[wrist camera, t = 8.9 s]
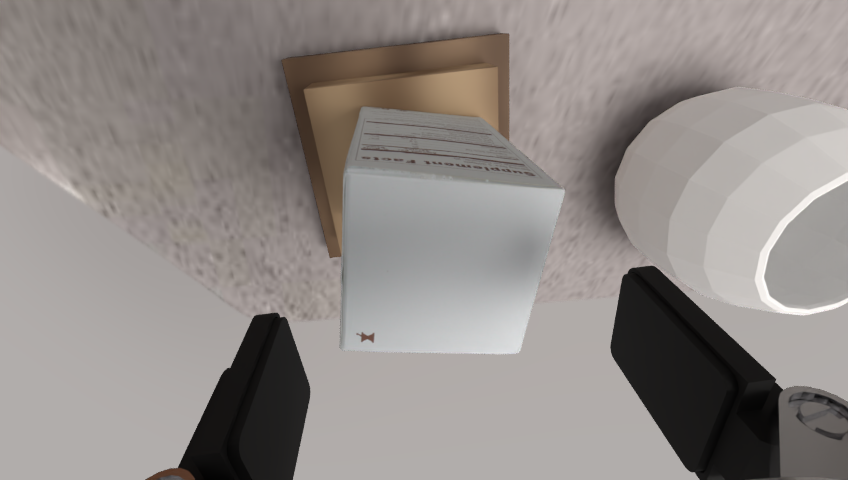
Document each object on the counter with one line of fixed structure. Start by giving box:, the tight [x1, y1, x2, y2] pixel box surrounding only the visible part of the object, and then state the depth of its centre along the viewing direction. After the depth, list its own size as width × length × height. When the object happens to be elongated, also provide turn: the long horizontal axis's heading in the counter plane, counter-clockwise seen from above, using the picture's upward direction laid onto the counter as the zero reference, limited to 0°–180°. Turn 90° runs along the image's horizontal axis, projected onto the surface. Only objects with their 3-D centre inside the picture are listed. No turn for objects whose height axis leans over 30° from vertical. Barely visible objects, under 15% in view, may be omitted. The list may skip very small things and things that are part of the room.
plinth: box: [282, 33, 509, 258], centre depth 27 cm, size 14×14×5 cm
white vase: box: [615, 86, 848, 315], centre depth 26 cm, size 13×13×14 cm
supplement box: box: [340, 107, 565, 354], centre depth 19 cm, size 7×7×13 cm
